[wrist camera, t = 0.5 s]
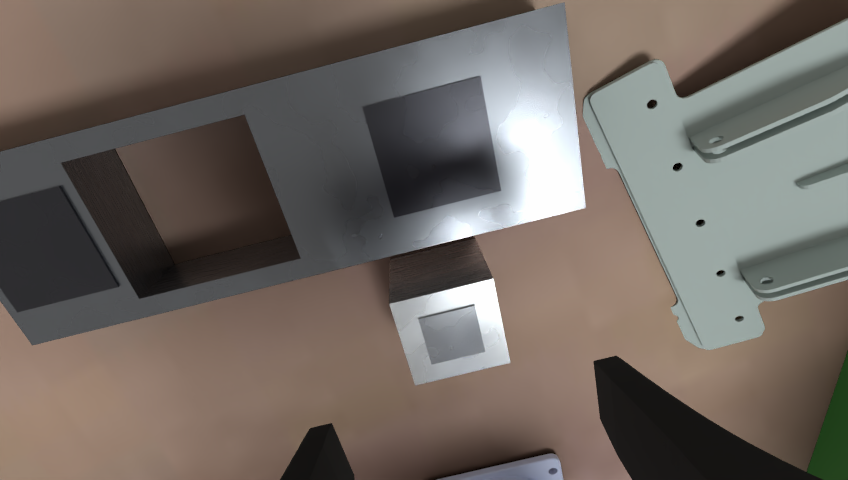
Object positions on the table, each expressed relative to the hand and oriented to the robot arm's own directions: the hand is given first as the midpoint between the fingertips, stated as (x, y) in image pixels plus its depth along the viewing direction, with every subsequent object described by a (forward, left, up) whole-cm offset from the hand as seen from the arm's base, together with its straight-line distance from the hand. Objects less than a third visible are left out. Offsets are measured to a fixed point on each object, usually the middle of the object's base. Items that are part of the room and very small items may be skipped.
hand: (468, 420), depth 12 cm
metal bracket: (+1, -16, -10) cm, 19 cm away
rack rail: (+6, +5, -9) cm, 12 cm away
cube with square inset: (-1, 0, -10) cm, 10 cm away
